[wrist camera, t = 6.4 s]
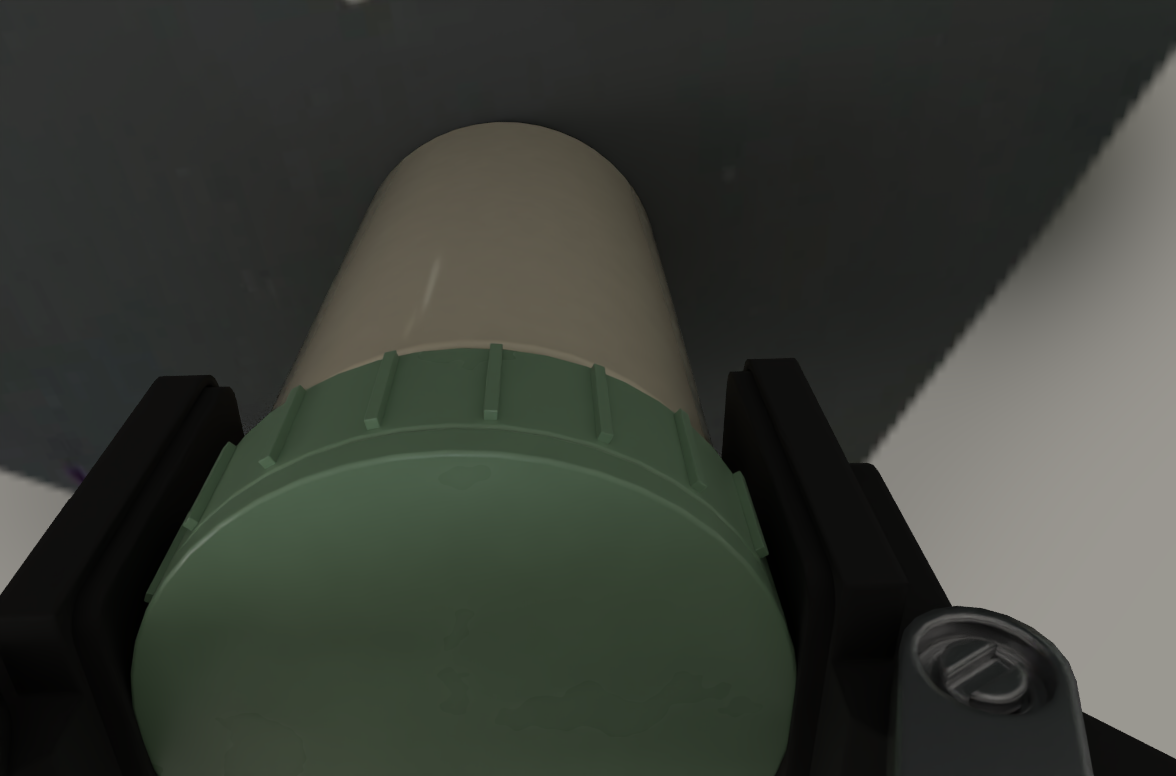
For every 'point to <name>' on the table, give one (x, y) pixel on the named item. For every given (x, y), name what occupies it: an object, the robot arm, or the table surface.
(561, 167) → the jar
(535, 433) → the lid
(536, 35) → the table surface
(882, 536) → the robot arm
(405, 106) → the table surface
